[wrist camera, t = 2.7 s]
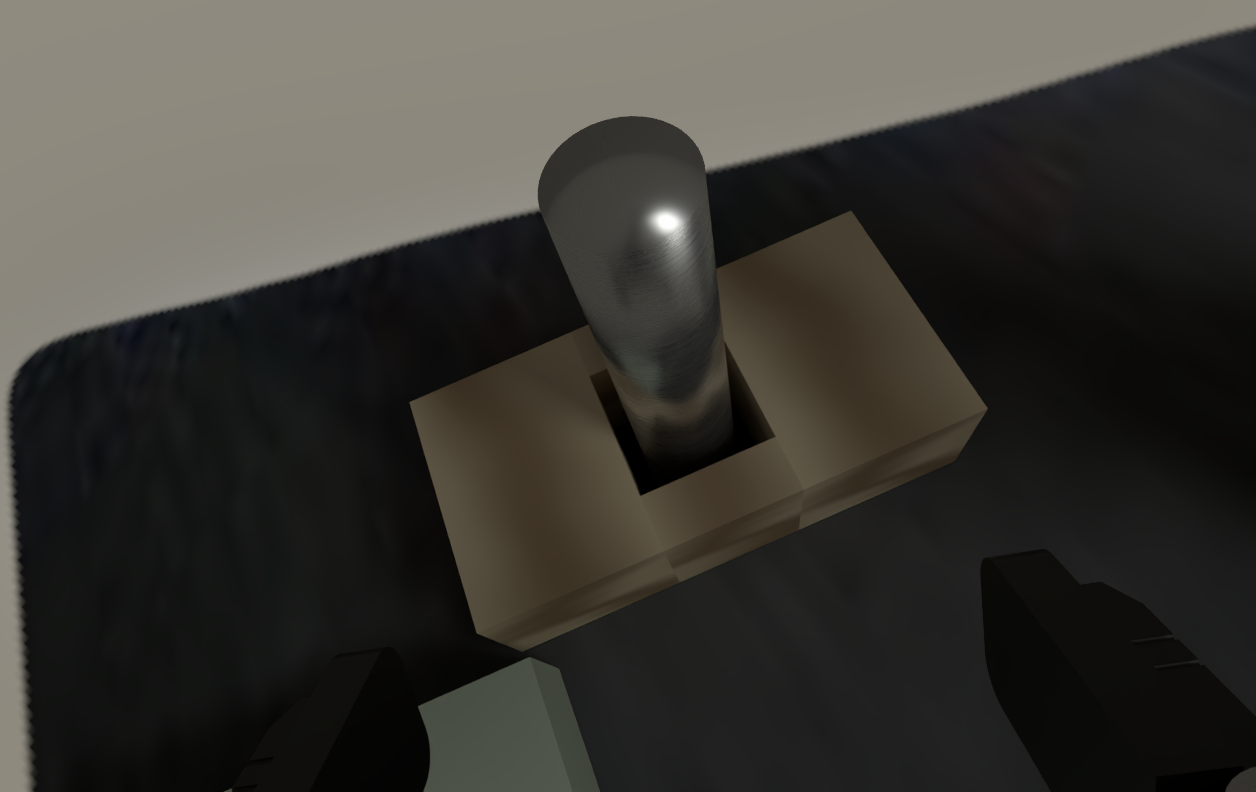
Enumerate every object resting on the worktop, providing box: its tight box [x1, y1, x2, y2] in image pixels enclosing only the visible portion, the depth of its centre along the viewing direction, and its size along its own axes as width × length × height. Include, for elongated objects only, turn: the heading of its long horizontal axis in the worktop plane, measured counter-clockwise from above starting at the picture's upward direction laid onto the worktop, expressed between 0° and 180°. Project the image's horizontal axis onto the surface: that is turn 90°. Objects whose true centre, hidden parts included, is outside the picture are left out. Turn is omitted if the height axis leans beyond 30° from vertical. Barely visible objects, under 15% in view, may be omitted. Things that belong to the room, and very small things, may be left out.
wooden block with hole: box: [410, 211, 988, 652], centre depth 26 cm, size 16×8×4 cm, turn 112°
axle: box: [538, 116, 737, 487], centre depth 21 cm, size 3×3×15 cm
